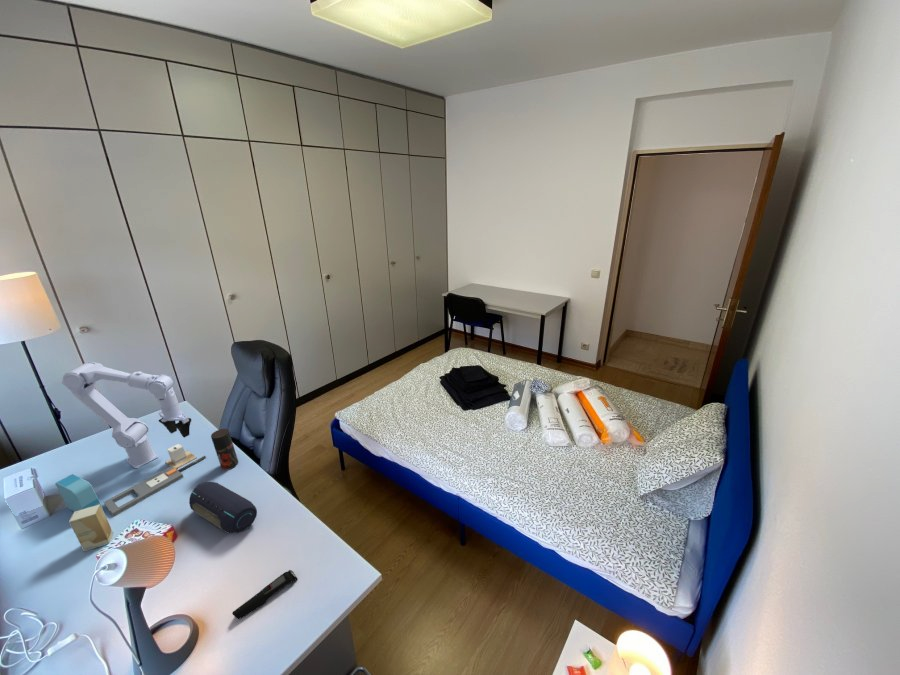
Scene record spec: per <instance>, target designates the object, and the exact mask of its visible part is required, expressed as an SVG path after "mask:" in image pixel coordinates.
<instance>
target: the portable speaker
mask: <svg viewBox="0 0 900 675" xmlns="http://www.w3.org/2000/svg"><path fill="white" fill-rule="evenodd" d="M188 503H189V507H190V510H192V511H193V512H194V513H196V514H197V515H199V516H201V517H202V518H203V519H205V520H207V521H208V522H210V523H212V524H213V525H215V526H216V527H217V528H219V529H221V530H222V531H224V532H226V533H227V534H239V533H241V532H244V531H246V530H247V529H249V527H251V525H252V524H253V523H254V522H255V520H256V518H257V516H258V515H257V514H258V512H257V511H258V510H257V507H256V505H254V504H253V503H252V501H250V500H249V499H247V498H245V497H243V496H242V495H240V494H238V493H236V492H235V491H233V490H231V489H229V488H227V487H225V486H224V485H222V484H221V483H218V482H215V481H208V480H207V481H203V482H201V483H199V484H198V485H195V487H194V488H193V490H192V491H191V493H190V495H189V502H188Z"/></svg>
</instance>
